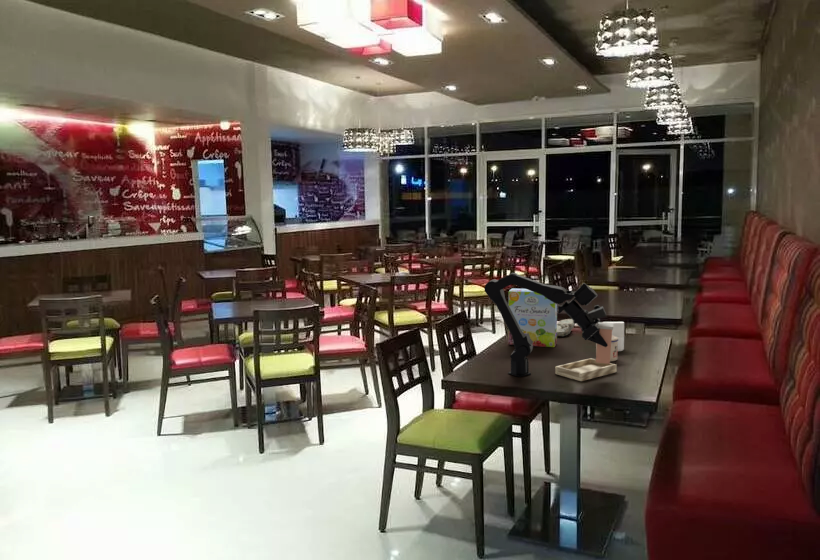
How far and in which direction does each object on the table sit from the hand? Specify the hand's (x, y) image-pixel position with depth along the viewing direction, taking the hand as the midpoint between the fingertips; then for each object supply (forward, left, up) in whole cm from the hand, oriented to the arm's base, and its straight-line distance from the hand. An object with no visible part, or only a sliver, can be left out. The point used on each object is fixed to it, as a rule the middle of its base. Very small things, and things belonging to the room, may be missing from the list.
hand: (607, 344), depth 250 cm
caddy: (-1, +1, -6) cm, 7 cm away
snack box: (+19, +59, -14) cm, 63 cm away
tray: (+1, +11, -13) cm, 17 cm away
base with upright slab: (+40, +30, -14) cm, 51 cm away
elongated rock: (+52, +71, -14) cm, 90 cm away
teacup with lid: (+25, +21, -14) cm, 35 cm away
